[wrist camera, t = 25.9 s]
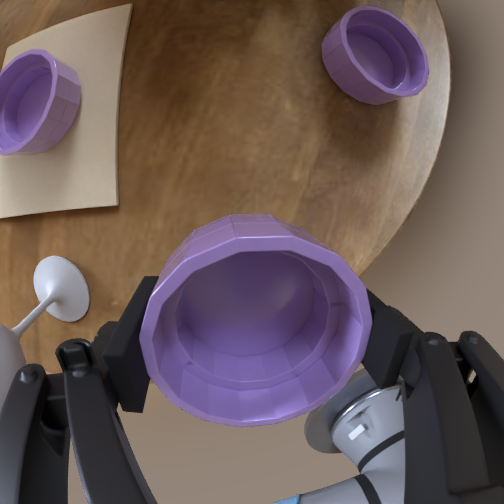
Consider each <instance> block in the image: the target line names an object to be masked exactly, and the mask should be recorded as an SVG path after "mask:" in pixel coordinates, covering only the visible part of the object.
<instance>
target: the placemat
mask: <svg viewBox="0 0 504 504" xmlns="http://www.w3.org/2000/svg"><path fill="white" fill-rule="evenodd" d="M132 9H133V5H132V3H131V4H126V5H121V6H116V7H112V8H108V9H104V10H100V11H97V12H93V13H90V14H86V15H83V16H80V17H77V18H74V19H71V20H68V21H65V22H62V23H60V24H57V25H55V26H52V27H50V28H47V29H45V30H42V31H40V32H38V33H35V34H33V35H31V36H29V37H27V38H25V39H23V40H21V41H19V42H17V43H15V44H13V45H11V46H9V47H8V48H7V51H6V55H5V59H4V63H3V67H2V69H3V68H4V67H5V66H6V65H7V64H8V63H9V62H11V61H12V60H13V59H14V58H15V57H16V56H17V55H20V54H22V53H24V52H26V51H28V50H30V49H43V50H46V51H48V52H50V53H51V54H53V55H54V56H56V57H57V58H59V59H61V60H62V61H64V62H65V63H67V64H68V65H69V66H71V67H72V68H73V69H74V70H75V71H76V72H77V74H78V78H79V81H80V85H81V94H80V104H79V108H78V110H77V113H76V115H75V118H74V120H73V123H72V125H71V126H70V128H69V129H68V130H67V132H66V133H65V135H64V136H63V137H62V139H61V140H60V141H59V142H58V143H57V144H56V145H54V146H53V147H52V148H50V149H49V150H48V151H46V152H44V153H40V154H36V155H18V156H3V155H0V218H6V217H13V216H20V215H27V214H35V213H43V212H52V211H61V210H71V209H81V208H92V207H104V206H117V205H119V192H118V118H119V101H120V89H121V78H122V69H123V61H124V54H125V47H126V41H127V35H128V29H129V24H130V19H131V14H132Z"/></svg>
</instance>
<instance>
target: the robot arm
mask: <svg viewBox="0 0 504 504" xmlns="http://www.w3.org/2000/svg"><path fill="white" fill-rule="evenodd" d="M158 279H159V276H144V278H143V280H142V281H141V283H140V285H139V286H138V288H137V290H136V292H135V293H134V295H133V297H132V299H131V300H130V302H129V304H128V306H127V307H126V309H125V311H124V313H123V315H122V316H121V318H120V320H119V322H113V321H108V322H107V323H106V324H104V325H103V326H102V327H101V328H100V329H99V331H98V333H97V336H95V338H94V339H93V341H92V343H91V344H90V342H89V341H87V340H85V339H81V338H76V339H70V340H67V341H65V342H63V343H62V344H60V345H59V346H58V348H57V349H56V352H55V354H56V356H57V358H58V361H59V363H60V366H61V368H62V370H63V373H58V374H46V372H45V370H44V368H43V367H42V366H41V365H39V364H27V365H25V366H23V367H22V368H20V369H19V370H18V371H17V373H16V374H15V377H14V379H13V381H12V384H11V386H10V389H9V391H8V394H7V396H6V399H5V401H4V404H3V407H2V410H1V412H0V504H68V462H69V448H70V438H71V439H72V444H73V450H74V454H75V458H76V463H77V467H78V471H79V475H80V479H81V482H82V486H83V489H84V493H85V496H86V499H87V502H88V504H157V502H156V500H155V498H154V496H153V494H152V493H151V490H150V488H149V486H148V484H147V482H146V480H145V478H144V476H143V474H142V472H141V470H140V467H139V466H138V463H137V461H136V459H135V456H134V454H133V451H132V449H131V447H130V444H129V441H128V439H127V436H126V434H125V431H124V428H123V425H122V423H121V420H120V417H119V415H118V413H117V406H118V403H120V405H121V407H122V410H123V411H126V412H137V413H143V408H144V403H145V398H146V394H147V390H148V386H149V381H150V377H149V375H148V373H147V370H146V366H145V362H144V358H143V354H142V350H141V345H140V341H139V335H140V331H141V327H142V323H143V319H144V316H145V312H146V308H147V305H148V301H149V298H150V296H151V293H152V291H153V289H154V287H155V285H156V283H157V281H158ZM366 291H367V295H368V300H369V305H370V310H371V316H372V321H373V323H372V324H373V325H372V329H371V333H370V337H369V341H368V345H367V349H366V353H365V356H364V359H363V360H362V362H361V363H362V364H363V366H364V367H365V369H366V370H367V371H368V373H369V374H370V376H371V377H372V378H373V380H374V381H375V383H376V384H377V387H375V388H373V389H370V390H368V391H367V392H365V393H363V394H361V395H360V396H358V397H357V398H355V399H354V400H352V401H351V402H350V403H349V404H347V405H346V406H345V407H344V408H343V409H342V410H341V411H340V412H339V413H338V414H337V415H336V417H335V418H334V419H333V421H332V423H331V425H330V428H329V434H330V437H331V439H332V441H333V443H334V444H335V446H336V447H337V448H338V449H340V450H341V451H342V452H343V453H344V454H345V455H346V456H347V457H348V458H349V459H350V460H351V461H352V462H353V463H355V465H356V466H357V468H358V470H359V472H360V475H358V476H355V477H353V478H350V479H347V480H345V481H342V482H339V483H336V484H334V485H331V486H328V487H325V488H322V489H318V490H315V491H312V492H308V493H305V494H297V496H295V497H291V498H288V499H284V500H281V501H277V502H275V503H273V504H504V360H503V359H502V358H501V357H500V356H499V354H498V353H497V352H496V351H495V350H494V349H493V348H492V347H491V345H490V344H489V343H488V342H487V341H486V340H485V339H484V338H483V337H482V336H481V335H480V334H478V333H476V332H474V331H464V332H462V333H461V335H460V337H459V340H458V342H448V341H447V340H446V338H445V337H443V336H442V335H440V334H438V333H434V332H425V333H424V332H423V331H421V330H420V329H419V328H418V327H417V326H416V325H415V324H414V323H412V322H411V321H409V319H408V318H407V317H406V316H404V315H403V314H402V313H401V312H400V311H399V310H397V309H395V308H393V307H391V306H387V305H385V304H384V303H383V302H382V301H381V300H380V299H379V298H377V297H376V296H375V295H374V294H373V293H372V292H371V291H369V290H368V289H367V288H366ZM473 370H474V371H475V373H476V376H475V378H474V380H473V382H472V383H471V382H470V381H469V380H468V379H469V377H470V375H471V373H472V371H473ZM399 374H400V375H401V376H402V378H403V379H404V380H403V383H399V382H396V381H397V379H398V376H399Z"/></svg>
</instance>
